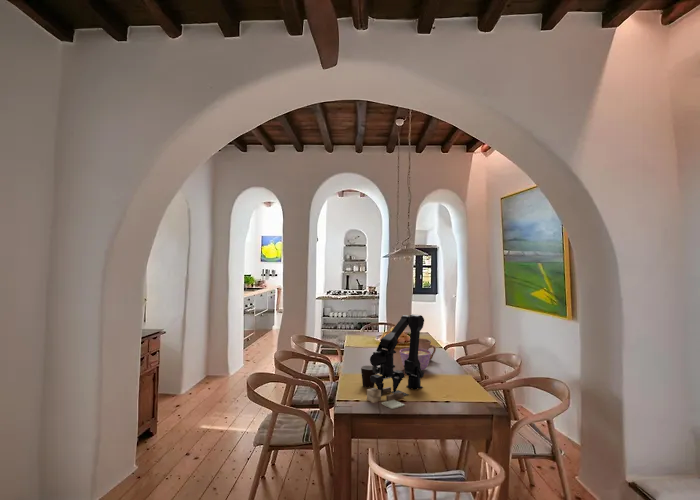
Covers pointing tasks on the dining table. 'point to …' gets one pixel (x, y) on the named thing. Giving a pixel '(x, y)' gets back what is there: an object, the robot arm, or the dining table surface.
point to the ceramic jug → (426, 345)
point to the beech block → (374, 395)
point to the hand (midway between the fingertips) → (387, 393)
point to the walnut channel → (392, 396)
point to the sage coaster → (392, 404)
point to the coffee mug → (367, 376)
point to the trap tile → (400, 391)
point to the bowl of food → (422, 356)
